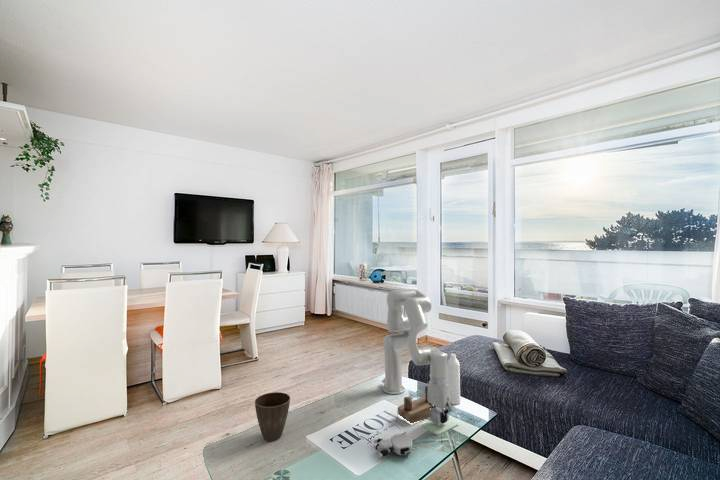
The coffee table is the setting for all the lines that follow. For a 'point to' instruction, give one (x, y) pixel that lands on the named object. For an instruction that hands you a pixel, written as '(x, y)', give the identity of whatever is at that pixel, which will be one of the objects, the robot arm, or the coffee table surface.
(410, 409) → the plane body
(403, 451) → the toy panda
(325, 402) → the coffee table surface
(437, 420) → the grey rectangular block
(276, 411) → the plant pot
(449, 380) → the water bottle
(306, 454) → the coffee table surface
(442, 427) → the mat
